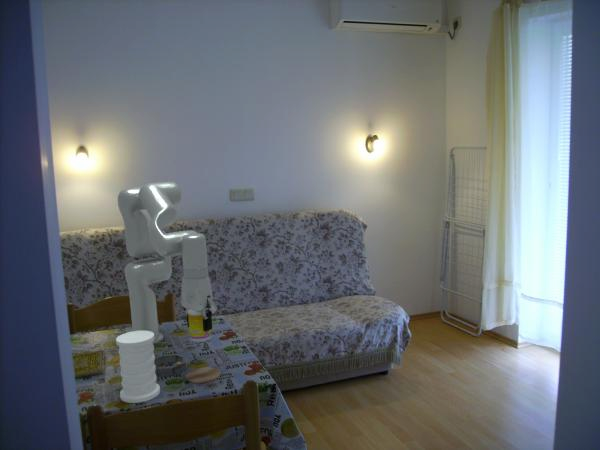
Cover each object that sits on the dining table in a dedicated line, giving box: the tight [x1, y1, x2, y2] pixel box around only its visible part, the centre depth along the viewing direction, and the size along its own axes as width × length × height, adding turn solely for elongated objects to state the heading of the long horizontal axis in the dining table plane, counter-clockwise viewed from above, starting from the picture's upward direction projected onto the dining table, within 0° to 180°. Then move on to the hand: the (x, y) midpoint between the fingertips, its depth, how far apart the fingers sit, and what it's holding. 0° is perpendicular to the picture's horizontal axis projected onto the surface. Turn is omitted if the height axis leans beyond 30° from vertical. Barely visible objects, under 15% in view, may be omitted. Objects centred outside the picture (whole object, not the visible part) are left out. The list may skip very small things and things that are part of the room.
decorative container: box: [115, 331, 161, 404], centre depth 160 cm, size 12×12×18 cm
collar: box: [154, 353, 188, 377], centre depth 180 cm, size 12×12×3 cm
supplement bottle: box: [188, 309, 212, 343], centre depth 170 cm, size 7×7×13 cm
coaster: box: [185, 366, 221, 384], centre depth 173 cm, size 11×11×1 cm
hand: (199, 327), depth 171 cm, fingers closed on supplement bottle, 6 cm apart
